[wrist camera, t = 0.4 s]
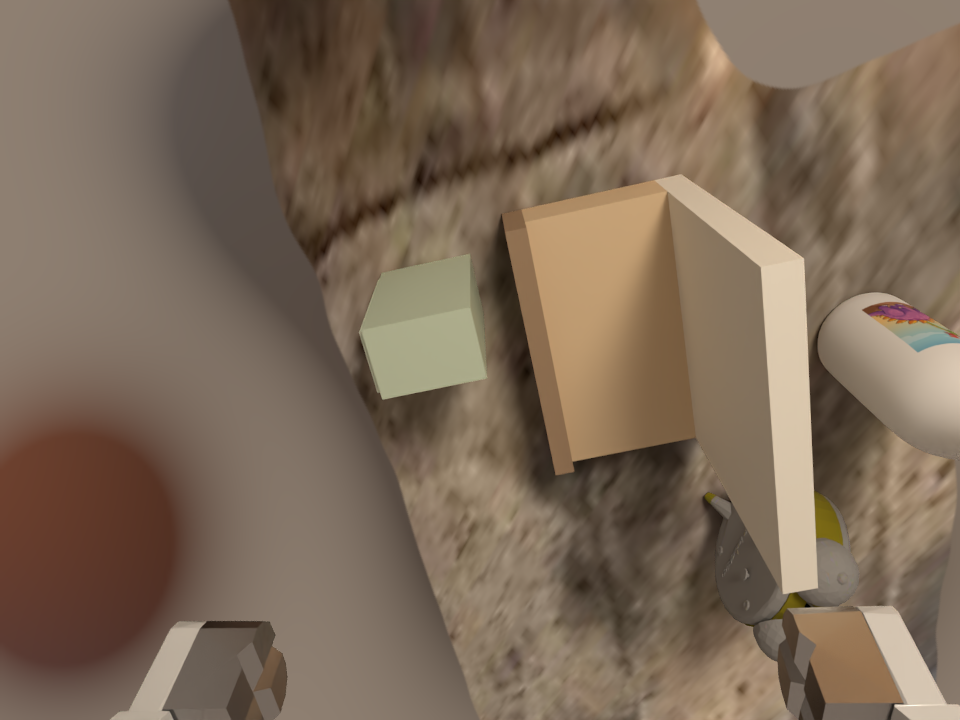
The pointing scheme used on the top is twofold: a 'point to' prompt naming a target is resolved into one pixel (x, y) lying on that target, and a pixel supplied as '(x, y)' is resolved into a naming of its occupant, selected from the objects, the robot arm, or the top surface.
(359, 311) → the top surface
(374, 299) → the cabinet
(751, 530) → the wall board
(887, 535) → the top surface
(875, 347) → the milk bottle
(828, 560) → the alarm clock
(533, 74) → the top surface
